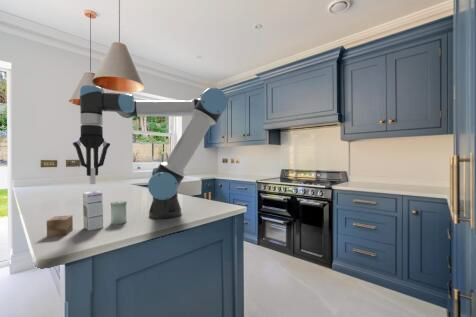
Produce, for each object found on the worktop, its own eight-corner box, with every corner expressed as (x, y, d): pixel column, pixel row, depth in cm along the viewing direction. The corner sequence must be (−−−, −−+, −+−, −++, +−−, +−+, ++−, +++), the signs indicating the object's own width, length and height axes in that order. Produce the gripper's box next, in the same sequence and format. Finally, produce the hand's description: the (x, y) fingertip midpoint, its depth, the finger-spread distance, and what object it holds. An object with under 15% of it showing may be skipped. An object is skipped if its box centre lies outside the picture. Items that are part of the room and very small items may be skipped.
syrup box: (103, 227, 94) (103, 192, 94) (87, 231, 90) (86, 193, 89) (99, 224, 98) (98, 190, 98) (82, 228, 93) (82, 192, 93)
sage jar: (129, 220, 105) (129, 200, 104) (122, 224, 98) (121, 203, 98) (116, 220, 105) (115, 200, 105) (107, 224, 98) (107, 203, 98)
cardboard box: (72, 230, 91) (72, 215, 91) (66, 235, 85) (66, 219, 85) (54, 232, 89) (54, 216, 89) (46, 237, 83) (46, 220, 83)
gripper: (107, 127, 100) (108, 181, 101) (70, 125, 92) (71, 184, 92) (112, 125, 95) (112, 183, 95) (73, 123, 86) (74, 186, 86)
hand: (92, 183), depth 94 cm, fingers closed
